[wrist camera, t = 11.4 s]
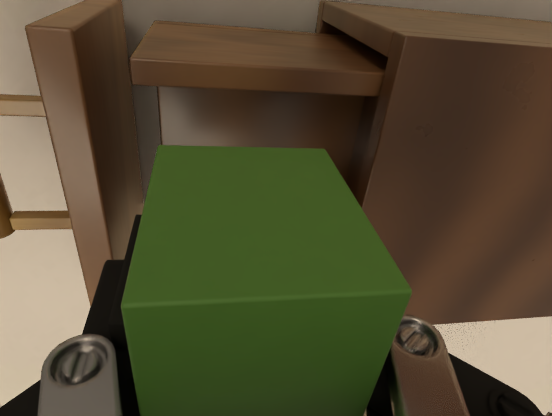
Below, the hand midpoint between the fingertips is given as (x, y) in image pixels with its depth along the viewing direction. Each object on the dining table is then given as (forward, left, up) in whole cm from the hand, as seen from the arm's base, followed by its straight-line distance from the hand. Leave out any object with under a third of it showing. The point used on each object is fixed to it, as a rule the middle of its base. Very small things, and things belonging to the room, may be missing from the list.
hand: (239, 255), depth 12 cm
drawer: (0, -1, -11) cm, 11 cm away
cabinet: (+4, +11, -11) cm, 16 cm away
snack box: (0, 0, 0) cm, 0 cm away
